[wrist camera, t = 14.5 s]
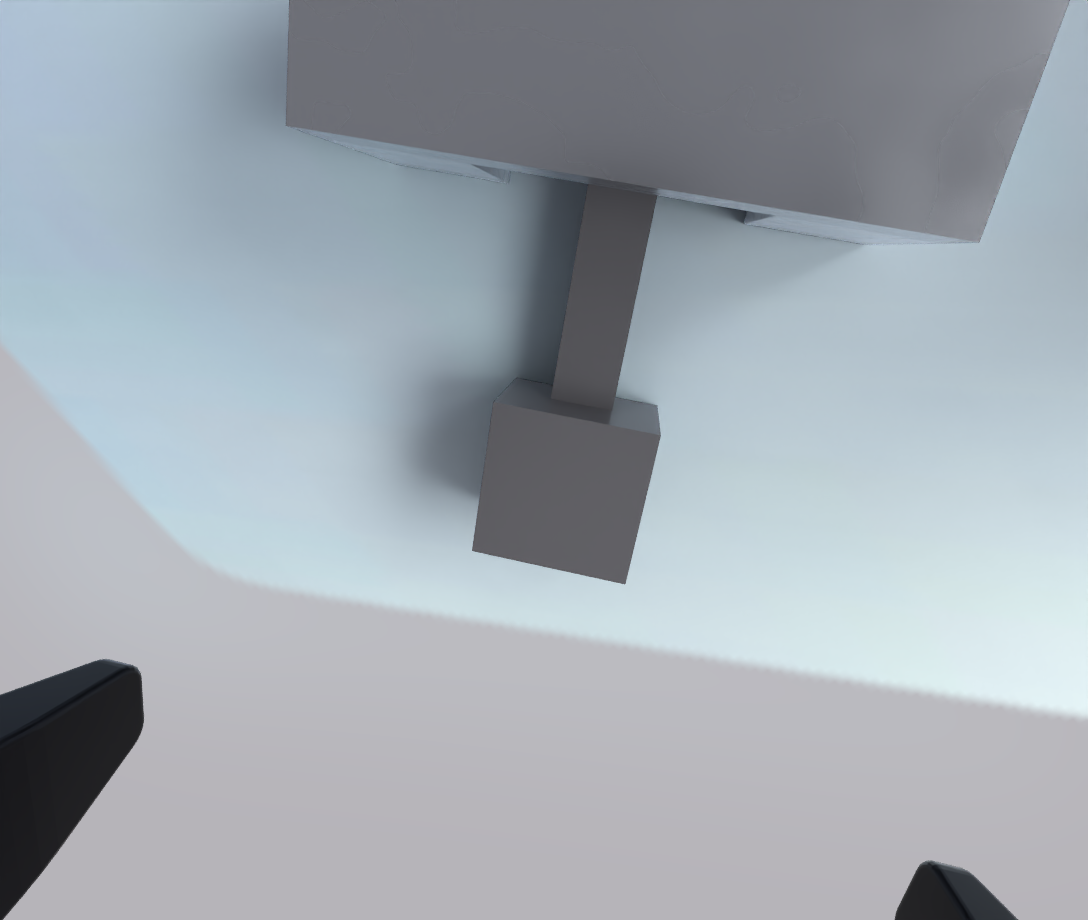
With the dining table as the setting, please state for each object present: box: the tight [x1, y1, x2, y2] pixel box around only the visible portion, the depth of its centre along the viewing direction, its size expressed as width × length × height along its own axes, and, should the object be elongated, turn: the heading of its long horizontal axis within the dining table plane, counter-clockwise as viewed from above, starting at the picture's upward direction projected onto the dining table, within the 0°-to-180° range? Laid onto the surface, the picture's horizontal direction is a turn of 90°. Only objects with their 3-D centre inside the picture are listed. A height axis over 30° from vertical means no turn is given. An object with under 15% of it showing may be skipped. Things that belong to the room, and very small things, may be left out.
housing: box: [286, 0, 1070, 245], centre depth 13 cm, size 12×4×6 cm, turn 80°
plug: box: [472, 184, 661, 584], centre depth 15 cm, size 4×17×3 cm, turn 170°
